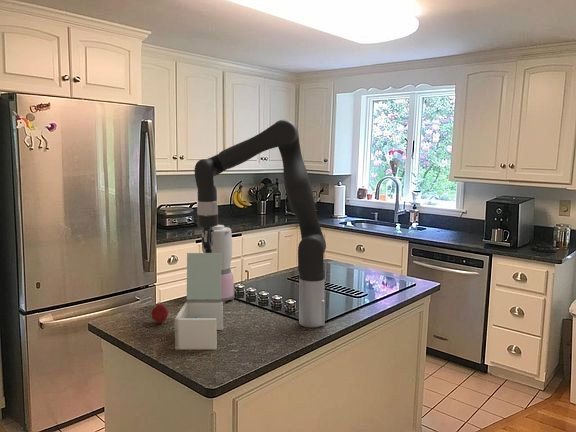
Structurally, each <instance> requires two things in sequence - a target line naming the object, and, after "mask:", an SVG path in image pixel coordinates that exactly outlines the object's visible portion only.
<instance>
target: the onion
mask: <svg viewBox="0 0 576 432" xmlns="http://www.w3.org/2000/svg"><path fill="white" fill-rule="evenodd" d="M168 315H169V311H168V309H167V307H166V306H165V305H164V304H162V303H161V302H160V301H158V302H157V304H156V306H154V307H153V309H152V310H151V314H150V316H151V318H152V320H154V321H155V322H156V323H157V324H161V323H163V322H165V321H166V320H167V318H168Z"/></svg>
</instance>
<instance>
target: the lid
mask: <svg viewBox="0 0 576 432" xmlns="http://www.w3.org/2000/svg"><path fill="white" fill-rule="evenodd" d="M186 302H221V253H203V252H187V253H186Z"/></svg>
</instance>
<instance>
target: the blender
mask: <svg viewBox="0 0 576 432" xmlns="http://www.w3.org/2000/svg"><path fill="white" fill-rule="evenodd" d="M212 228H213V230H214V241H213V247H212V253H221V302H223V305H225V304H226V302H227V301H230V300H231V301H232V302H233V301H234V299H235V293H234V288H235V287H234V274H233V272H232V269H231V263H232V256H233V238H232V237H233V236H232V229H231V228H230V227H225V225H224V224H218V225H217V226H214V227H212ZM202 237H203V236H202V235H201V238H202ZM201 251H202V252H201V253H205V249H204V247H203V242H202V241H201Z"/></svg>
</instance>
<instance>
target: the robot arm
mask: <svg viewBox="0 0 576 432" xmlns="http://www.w3.org/2000/svg"><path fill="white" fill-rule="evenodd" d="M275 148H278V150H279V154H280V157H281V159H282V160H281V161H282V167H283V168H282V169H283V170H282V171H283V183H284V189H285V193H286V197H287V201H288V204H289V206H290V209H291V211H292V212H293V214H294V216H295V218H296V220H297V222H298V226H299V230H300V231H299V232H300V238H301V240H300V242H299V243H298V247H297V269H298V270H297V271H298V275H299V276H298V277H299V278H298V279H299V281H298V282H299V283H298V284H299V287H298V289H299V291H298V292H299V293H298V324H299V325H300V326H303V327H305V328H319V327H325V325H326V324H325V323H326V322H325V315H326V314H325V310H326V308H325V307H326V304H325V303H326V301H325V300H326V299H325V281H326V279H325V275H326V274H325V267H324V257H325V256H324V254H325V251H326V249H327V243H326V240H325V237H324V234H323V231H322V228H321V226H320V223H319V219H318V215H317V209H316V203H315V198H314V192H313V188H312V185H311V180H310V177H309V175H308V171H307V167H306V164H305V162H304V160H303V155H302V150H301V144H300V135H299V129H298V127H297V126H296V124H295V123H293V122H292V121H290V120H289V119H288V120H287V119H279V120H278V121H275V122H274V123H273V124H272V125H270V126H269V127H267V128H266V129H264V130H263V131H261V132H259V133H258V134H256V135H253V136H252V137H250V138H247V139H245V140H243V141H241V142H238V143H237V144H234V145H232V146H229V147H228V148H224V149H223V150H221V151H220V152H219V153H218V154H215V155H213V156H211V157H208V158H203V159H199V160H198V161H196V163H195V166H194V178H195V179H194V180H195V183H196V189H197V208H196V209H197V210H196V211H197V212H196V213H197V215H196V217H197V225H198V227H201V228H202V227H203V230H202V231H201V243H202V242H203V247H204V249H205V253H212V247H213V241H214V230H213V228H212V227H214V226H217V225H219V207H218V191H217V187H216V185H215V184H214V183H215V181H214V177H216V176H217V175H220V174H222V173H224V172H225V171H227V170H229V169H232V168H234V167H236V166H240V165H241V164H243V163H245V162H247V161H249V160H251V159H252V158H254V157H255V156H257V155H259V154H261V153H263V152H266V151H268V150H271V149H275ZM202 236H203V237H202Z"/></svg>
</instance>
